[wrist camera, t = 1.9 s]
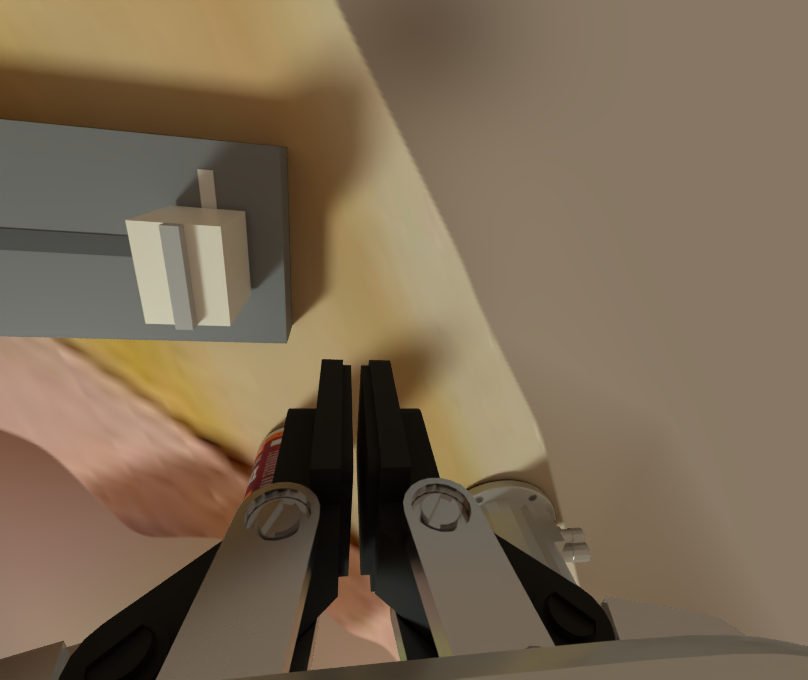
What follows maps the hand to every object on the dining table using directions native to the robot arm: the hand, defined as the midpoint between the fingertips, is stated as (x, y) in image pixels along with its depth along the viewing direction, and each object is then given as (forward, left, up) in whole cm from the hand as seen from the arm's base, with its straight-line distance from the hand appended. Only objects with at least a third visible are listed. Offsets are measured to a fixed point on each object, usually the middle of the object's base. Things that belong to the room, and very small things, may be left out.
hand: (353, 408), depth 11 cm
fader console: (+15, 0, -19) cm, 24 cm away
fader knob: (+8, 0, -16) cm, 18 cm away
